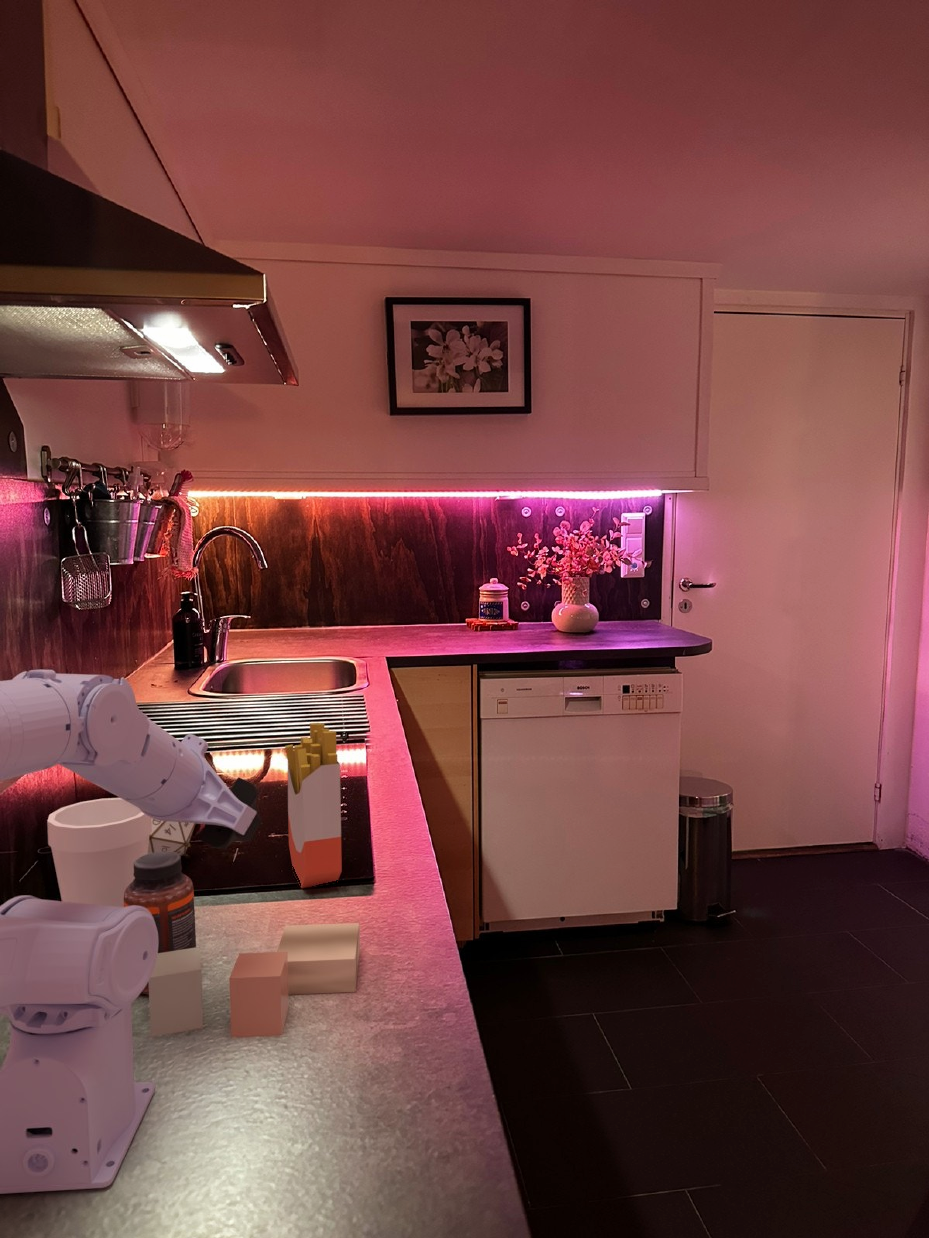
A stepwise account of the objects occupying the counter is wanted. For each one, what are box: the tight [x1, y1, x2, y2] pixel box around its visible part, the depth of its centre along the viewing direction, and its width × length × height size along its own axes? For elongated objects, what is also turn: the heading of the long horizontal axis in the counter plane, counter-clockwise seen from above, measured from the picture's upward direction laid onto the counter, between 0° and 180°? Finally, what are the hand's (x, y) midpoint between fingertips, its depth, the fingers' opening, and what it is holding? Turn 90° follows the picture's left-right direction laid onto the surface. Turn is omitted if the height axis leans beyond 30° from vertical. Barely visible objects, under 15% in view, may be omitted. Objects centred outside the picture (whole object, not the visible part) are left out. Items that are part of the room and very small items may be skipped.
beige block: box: [148, 946, 204, 1038], centre depth 68 cm, size 4×4×5 cm
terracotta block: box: [228, 951, 290, 1039], centre depth 67 cm, size 4×4×5 cm
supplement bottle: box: [124, 851, 197, 995], centre depth 74 cm, size 6×6×11 cm
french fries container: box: [284, 722, 343, 889], centre depth 97 cm, size 5×11×18 cm, turn 22°
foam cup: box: [46, 797, 152, 907], centre depth 82 cm, size 10×9×13 cm
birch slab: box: [276, 922, 361, 996], centre depth 75 cm, size 7×7×3 cm
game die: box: [148, 818, 197, 858], centre depth 102 cm, size 9×8×10 cm
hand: (218, 811), depth 73 cm, fingers open, 7 cm apart
